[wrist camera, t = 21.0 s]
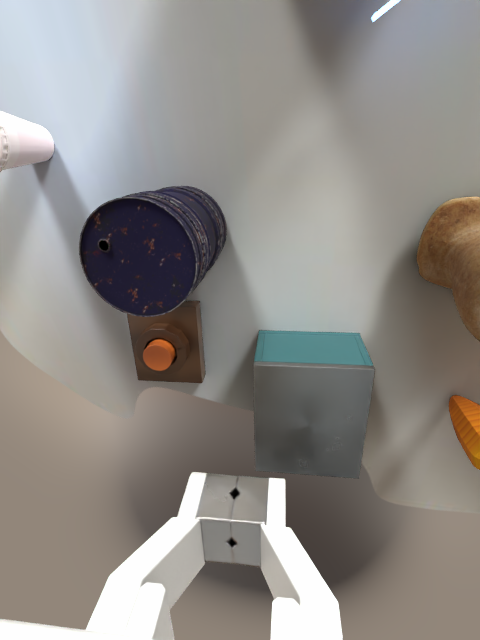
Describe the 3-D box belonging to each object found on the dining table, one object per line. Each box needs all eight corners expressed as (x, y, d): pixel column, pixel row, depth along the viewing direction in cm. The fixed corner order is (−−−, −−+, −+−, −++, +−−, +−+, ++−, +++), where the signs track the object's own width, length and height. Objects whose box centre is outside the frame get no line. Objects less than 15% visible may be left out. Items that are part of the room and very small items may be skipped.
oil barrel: (241, 208, 40) (218, 231, 26) (209, 283, 44) (174, 336, 30) (160, 169, 39) (93, 171, 25) (135, 248, 43) (65, 287, 30)
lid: (357, 473, 43) (359, 478, 42) (255, 466, 45) (254, 471, 44) (373, 365, 37) (375, 369, 36) (254, 360, 38) (253, 364, 38)
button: (177, 364, 45) (172, 371, 43) (149, 363, 45) (144, 370, 44) (174, 338, 43) (169, 345, 42) (146, 338, 44) (140, 344, 42)
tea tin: (348, 425, 50) (358, 468, 43) (259, 420, 51) (255, 461, 44) (359, 332, 44) (373, 365, 37) (258, 330, 46) (253, 360, 38)
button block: (205, 374, 49) (199, 391, 46) (143, 371, 50) (132, 387, 47) (199, 300, 45) (192, 312, 41) (132, 299, 46) (119, 311, 42)
